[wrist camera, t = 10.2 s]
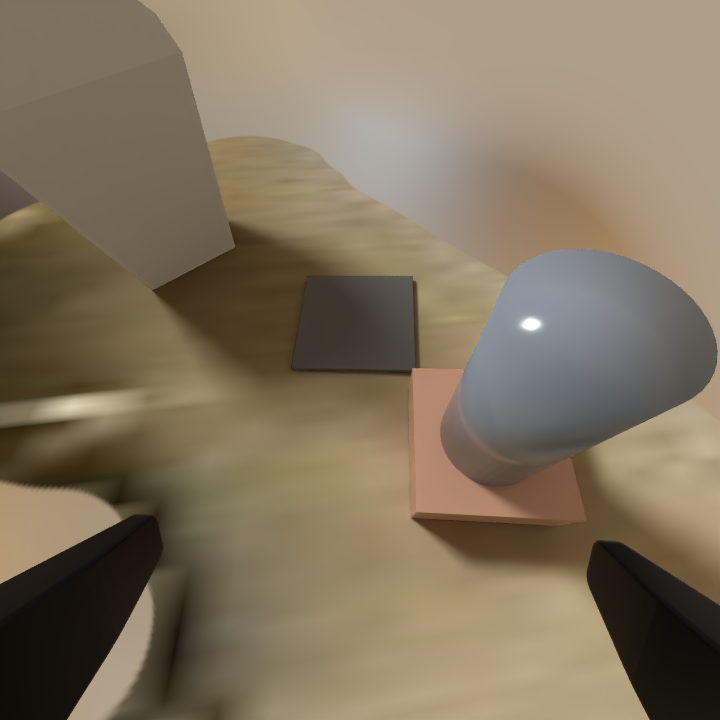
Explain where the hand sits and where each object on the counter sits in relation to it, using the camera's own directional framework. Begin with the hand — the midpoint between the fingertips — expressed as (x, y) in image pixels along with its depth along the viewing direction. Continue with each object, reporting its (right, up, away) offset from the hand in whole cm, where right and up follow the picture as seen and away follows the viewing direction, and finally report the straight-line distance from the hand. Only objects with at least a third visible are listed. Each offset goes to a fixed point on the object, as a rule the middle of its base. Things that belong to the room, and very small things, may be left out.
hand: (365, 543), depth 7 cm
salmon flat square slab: (+7, -2, +14) cm, 16 cm away
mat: (0, +7, +20) cm, 21 cm away
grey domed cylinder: (+7, 0, +11) cm, 13 cm away
